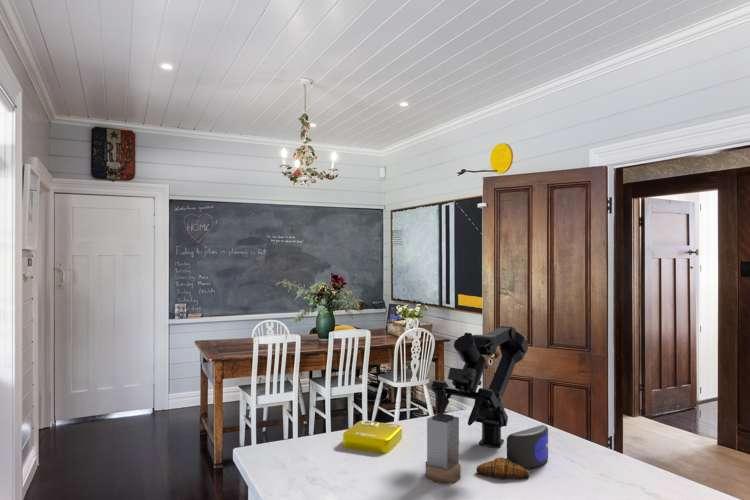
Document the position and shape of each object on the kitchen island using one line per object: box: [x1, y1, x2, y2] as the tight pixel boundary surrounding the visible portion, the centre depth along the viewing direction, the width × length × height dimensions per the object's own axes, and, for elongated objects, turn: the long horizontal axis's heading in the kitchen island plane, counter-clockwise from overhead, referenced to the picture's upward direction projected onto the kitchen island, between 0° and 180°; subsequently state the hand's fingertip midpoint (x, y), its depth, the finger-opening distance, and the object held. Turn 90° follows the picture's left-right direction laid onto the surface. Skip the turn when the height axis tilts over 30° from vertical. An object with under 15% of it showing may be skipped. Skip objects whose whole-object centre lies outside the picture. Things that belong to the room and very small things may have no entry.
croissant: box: [475, 457, 530, 480], centre depth 132 cm, size 14×7×5 cm, turn 79°
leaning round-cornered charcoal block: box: [506, 424, 549, 470], centre depth 139 cm, size 16×5×9 cm, turn 124°
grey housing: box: [426, 413, 460, 471], centre depth 132 cm, size 6×6×12 cm
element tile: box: [342, 419, 403, 454], centre depth 156 cm, size 15×15×5 cm
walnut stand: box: [425, 461, 462, 485], centre depth 132 cm, size 9×9×3 cm
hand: (453, 421), depth 136 cm, fingers open, 9 cm apart
